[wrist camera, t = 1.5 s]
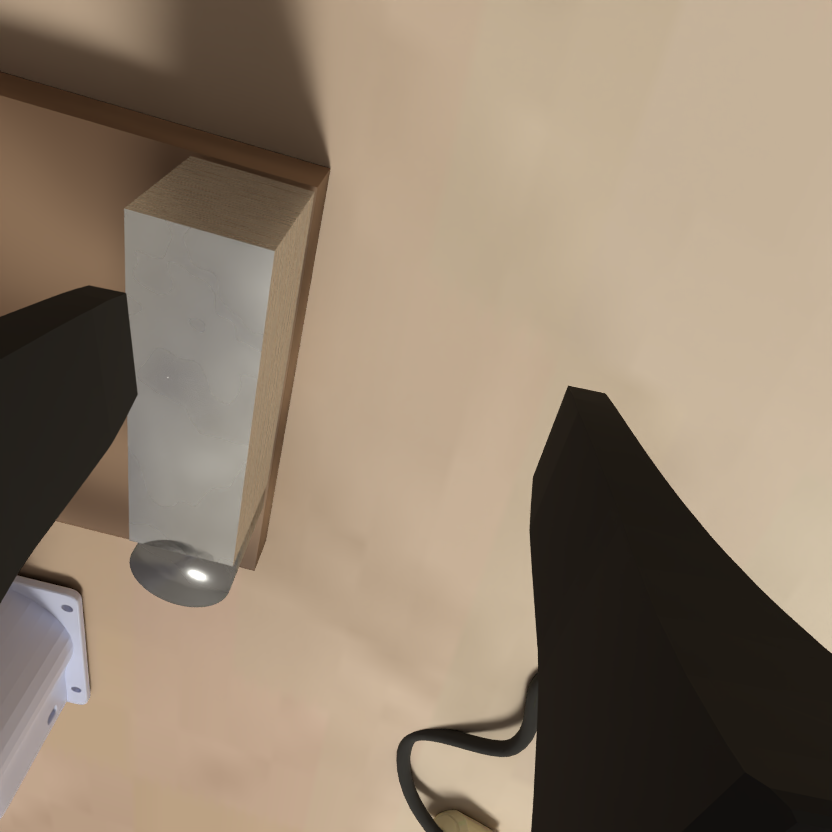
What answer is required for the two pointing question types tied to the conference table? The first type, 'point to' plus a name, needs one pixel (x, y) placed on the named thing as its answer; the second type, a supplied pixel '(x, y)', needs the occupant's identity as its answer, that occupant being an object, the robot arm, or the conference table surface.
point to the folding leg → (206, 367)
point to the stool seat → (112, 235)
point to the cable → (452, 826)
